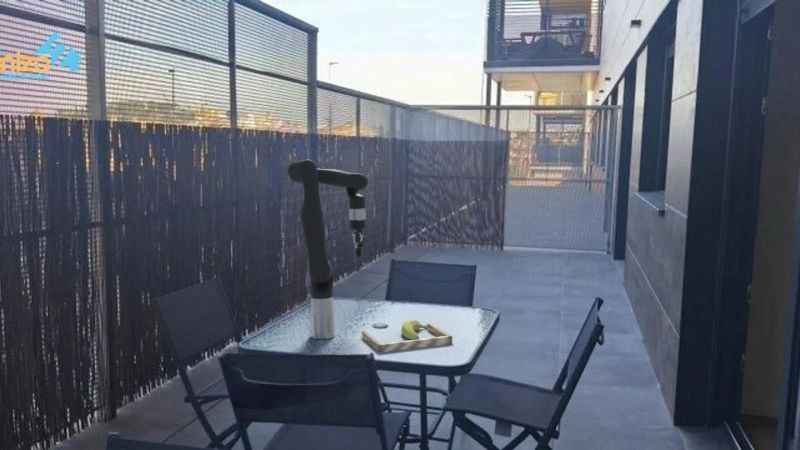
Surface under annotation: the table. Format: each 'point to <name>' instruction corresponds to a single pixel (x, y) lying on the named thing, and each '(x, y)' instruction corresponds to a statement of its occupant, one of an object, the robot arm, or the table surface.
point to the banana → (411, 329)
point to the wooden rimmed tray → (410, 341)
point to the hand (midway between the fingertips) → (358, 256)
